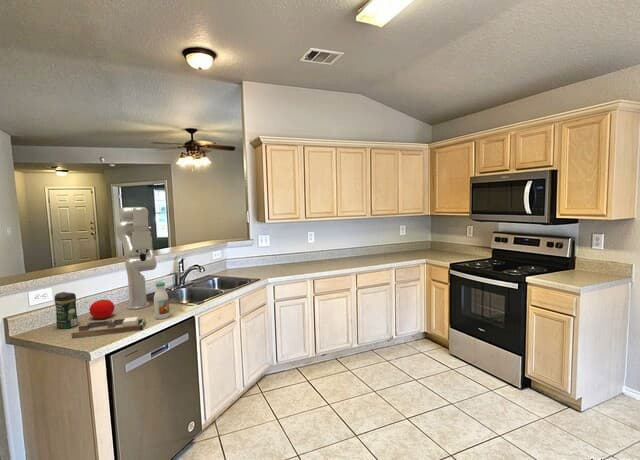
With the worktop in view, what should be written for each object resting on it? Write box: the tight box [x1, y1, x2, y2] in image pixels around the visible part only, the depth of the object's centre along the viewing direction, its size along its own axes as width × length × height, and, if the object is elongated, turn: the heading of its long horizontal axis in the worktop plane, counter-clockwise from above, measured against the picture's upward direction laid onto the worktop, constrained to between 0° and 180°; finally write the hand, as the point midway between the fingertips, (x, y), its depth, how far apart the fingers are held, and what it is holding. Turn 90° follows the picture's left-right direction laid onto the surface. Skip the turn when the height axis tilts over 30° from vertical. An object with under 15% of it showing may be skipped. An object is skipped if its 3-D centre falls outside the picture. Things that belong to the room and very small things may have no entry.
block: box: [122, 316, 140, 327], centre depth 182 cm, size 6×6×5 cm
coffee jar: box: [53, 291, 79, 329], centre depth 186 cm, size 10×8×19 cm
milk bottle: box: [153, 281, 170, 320], centre depth 198 cm, size 8×8×20 cm
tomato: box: [88, 299, 115, 320], centre depth 200 cm, size 11×12×10 cm
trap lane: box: [71, 318, 147, 339], centre depth 181 cm, size 15×31×2 cm, turn 108°
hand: (143, 260), depth 200 cm, fingers closed
